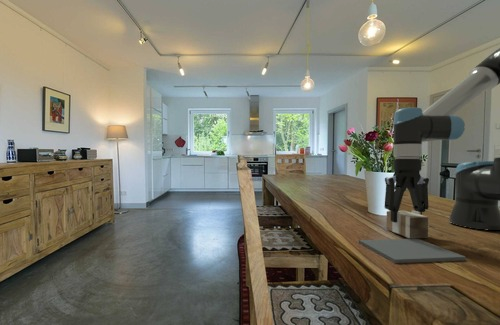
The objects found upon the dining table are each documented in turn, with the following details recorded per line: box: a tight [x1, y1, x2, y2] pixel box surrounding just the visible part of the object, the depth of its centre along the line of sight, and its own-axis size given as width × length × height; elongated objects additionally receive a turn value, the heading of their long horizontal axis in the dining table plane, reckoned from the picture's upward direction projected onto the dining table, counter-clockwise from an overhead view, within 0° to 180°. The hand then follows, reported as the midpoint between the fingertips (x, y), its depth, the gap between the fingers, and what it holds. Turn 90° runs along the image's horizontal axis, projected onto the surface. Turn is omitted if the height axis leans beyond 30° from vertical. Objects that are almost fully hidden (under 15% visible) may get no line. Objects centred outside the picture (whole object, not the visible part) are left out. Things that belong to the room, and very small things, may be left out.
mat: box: [358, 238, 467, 264], centre depth 64 cm, size 18×14×1 cm
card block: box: [386, 209, 429, 239], centre depth 80 cm, size 6×10×6 cm, turn 8°
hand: (406, 232), depth 80 cm, fingers closed on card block, 6 cm apart
